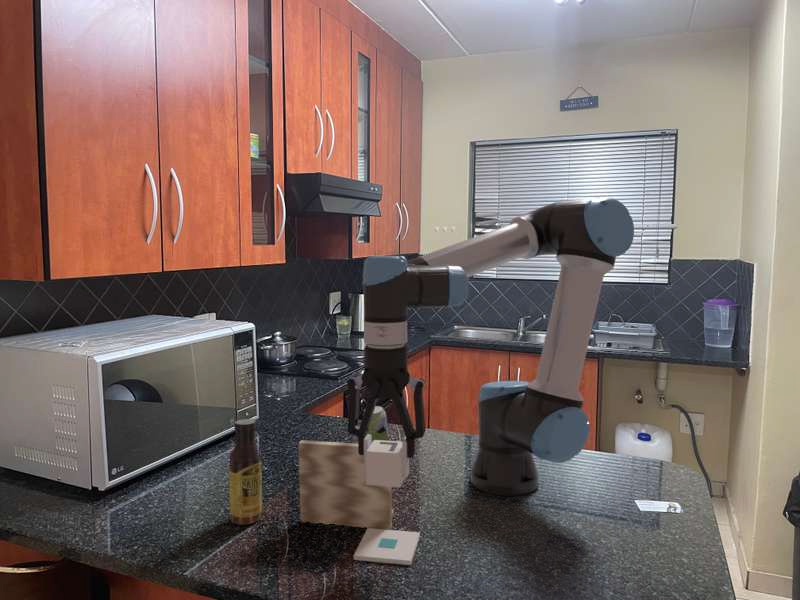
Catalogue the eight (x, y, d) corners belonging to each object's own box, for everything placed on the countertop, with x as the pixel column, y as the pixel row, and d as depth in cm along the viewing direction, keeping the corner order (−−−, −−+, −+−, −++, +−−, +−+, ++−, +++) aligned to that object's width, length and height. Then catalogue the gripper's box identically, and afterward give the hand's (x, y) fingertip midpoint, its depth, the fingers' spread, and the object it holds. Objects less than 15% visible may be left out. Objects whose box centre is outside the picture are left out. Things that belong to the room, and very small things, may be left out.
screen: (396, 514, 120) (395, 437, 118) (390, 529, 114) (389, 448, 112) (311, 508, 123) (309, 432, 122) (300, 522, 117) (298, 443, 116)
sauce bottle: (245, 530, 114) (242, 429, 112) (223, 522, 118) (219, 423, 116) (270, 516, 120) (267, 420, 118) (247, 509, 123) (244, 415, 121)
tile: (419, 536, 111) (419, 531, 111) (410, 565, 101) (410, 560, 101) (367, 532, 113) (367, 527, 113) (353, 559, 103) (353, 554, 103)
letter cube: (406, 474, 108) (406, 441, 108) (400, 487, 102) (400, 453, 102) (373, 471, 109) (373, 439, 109) (365, 484, 103) (365, 450, 103)
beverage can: (394, 450, 157) (394, 405, 156) (378, 459, 151) (378, 412, 150) (374, 446, 160) (374, 402, 159) (358, 454, 154) (357, 409, 153)
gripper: (326, 347, 102) (328, 478, 104) (437, 350, 98) (437, 485, 100) (338, 340, 109) (340, 462, 111) (443, 342, 105) (443, 469, 108)
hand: (386, 473), depth 106 cm, fingers closed on letter cube, 6 cm apart
